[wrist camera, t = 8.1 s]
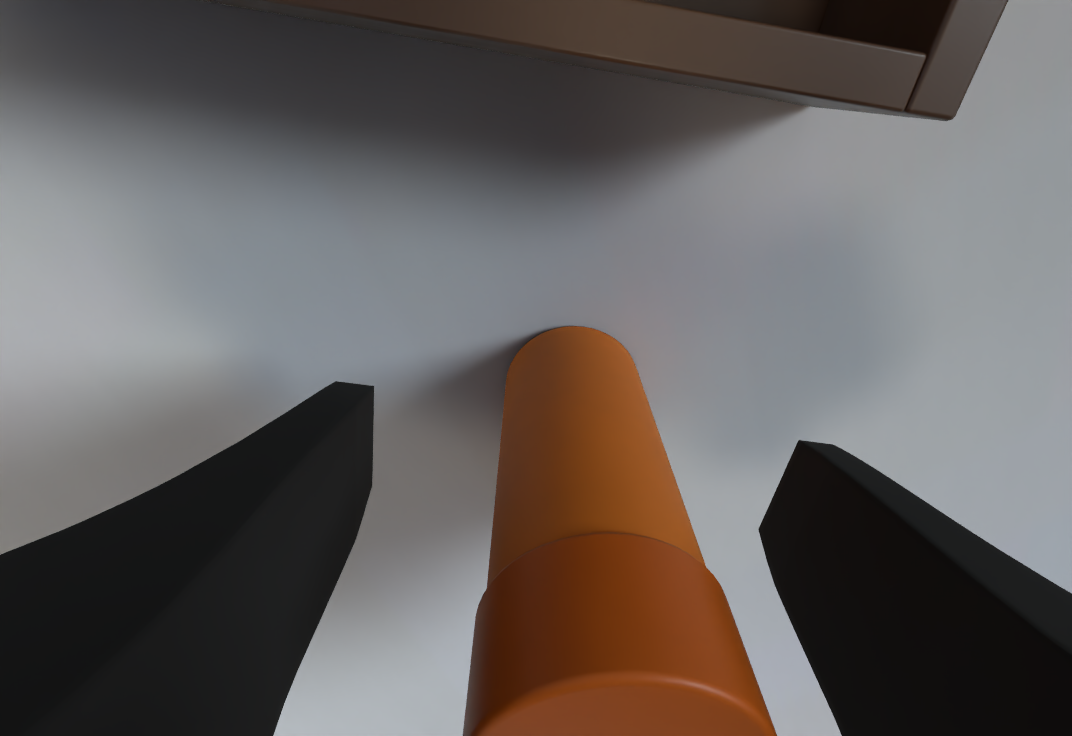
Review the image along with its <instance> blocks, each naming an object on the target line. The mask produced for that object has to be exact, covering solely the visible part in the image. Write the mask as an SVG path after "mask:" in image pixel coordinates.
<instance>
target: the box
mask: <svg viewBox="0 0 1072 736" xmlns="http://www.w3.org/2000/svg"><path fill="white" fill-rule="evenodd" d="M199 1H205V2H211V3H217V4H222V5H228V6H234V7H240V8H245V9H251V10H257V11H263V12H269V13H274V14H280V15H286V16H292V17H297V18H303V19H309V20H315V21H321V22H326V23H332V24H338V25H344V26H349V27H355V28H361V29H367V30H373V31H378V32H384V33H390V34H396V35H401V36H407V37H413V38H419V39H424V40H430V41H436V42H442V43H448V44H453V45H459V46H465V47H471V48H476V49H482V50H488V51H494V52H500V53H505V54H511V55H517V56H523V57H528V58H534V59H540V60H546V61H552V62H557V63H563V64H569V65H575V66H580V67H586V68H592V69H598V70H604V71H609V72H615V73H621V74H627V75H632V76H638V77H644V78H650V79H655V80H661V81H667V82H673V83H679V84H684V85H690V86H696V87H702V88H707V89H713V90H719V91H725V92H731V93H736V94H742V95H748V96H754V97H759V98H765V99H771V100H777V101H783V102H788V103H794V104H800V105H806V106H811V107H819V108H829V109H838V110H847V111H857V112H866V113H875V114H885V115H894V116H903V117H913V118H922V119H931V120H940V121H948V120H952V119H953V118H954V117H955V115H956V113H957V111H958V109H959V107H960V104H961V102H962V100H963V98H964V96H965V94H966V91H967V89H968V87H969V85H970V83H971V80H972V78H973V76H974V74H975V72H976V70H977V67H978V65H979V63H980V61H981V59H982V56H983V54H984V52H985V50H986V48H987V46H988V43H989V41H990V39H991V37H992V35H993V32H994V30H995V28H996V26H997V24H998V22H999V19H1000V17H1001V15H1002V13H1003V11H1004V8H1005V6H1006V4H1007V2H1008V0H199Z"/></svg>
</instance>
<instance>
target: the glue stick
mask: <svg viewBox="0 0 1072 736" xmlns="http://www.w3.org/2000/svg"><path fill="white" fill-rule="evenodd" d="M463 736H777V734H776V732H775V729H774V726H773V723H772V721H771V718H770V715H769V713H768V710H767V707H766V704H765V702H764V699H763V696H762V694H761V691H760V688H759V685H758V683H757V680H756V677H755V675H754V672H753V669H752V666H751V664H750V661H749V658H748V656H747V653H746V650H745V647H744V645H743V642H742V639H741V637H740V634H739V631H738V628H737V626H736V623H735V620H734V618H733V615H732V612H731V609H730V607H729V604H728V601H727V599H726V596H725V594H724V592H723V589H722V587H721V585H720V584H719V582H718V581H717V579H716V578H715V576H714V575H713V574H712V573H711V572H710V571H709V570H708V569H707V568H706V566H705V563H704V560H703V557H702V554H701V551H700V548H699V546H698V543H697V540H696V537H695V534H694V531H693V529H692V526H691V523H690V520H689V517H688V514H687V511H686V509H685V506H684V503H683V500H682V497H681V494H680V491H679V489H678V486H677V483H676V480H675V477H674V474H673V471H672V469H671V466H670V463H669V460H668V457H667V454H666V451H665V449H664V446H663V443H662V440H661V437H660V434H659V432H658V429H657V426H656V423H655V420H654V417H653V414H652V412H651V409H650V406H649V403H648V400H647V397H646V394H645V392H644V389H643V386H642V383H641V380H640V377H639V374H638V372H637V369H636V366H635V364H634V361H633V359H632V357H631V356H630V354H629V352H628V351H627V350H626V349H625V348H624V346H623V345H622V344H620V343H619V342H618V341H617V340H616V339H614V338H613V337H611V336H610V335H608V334H606V333H604V332H601V331H598V330H595V329H592V328H587V327H578V326H569V327H561V328H556V329H552V330H549V331H547V332H544V333H542V334H540V335H538V336H536V337H535V338H533V339H532V340H530V341H529V342H528V343H526V344H525V345H524V346H523V347H522V348H521V349H520V350H519V352H518V353H517V354H516V356H515V357H514V359H513V361H512V362H511V364H510V367H509V370H508V373H507V378H506V387H505V398H504V409H503V420H502V430H501V441H500V452H499V463H498V474H497V485H496V495H495V506H494V517H493V528H492V539H491V550H490V560H489V571H488V582H487V589H486V591H485V593H484V594H483V596H482V599H481V601H480V603H479V605H478V609H477V613H476V619H475V628H474V637H473V646H472V656H471V665H470V674H469V683H468V693H467V702H466V711H465V720H464V729H463Z"/></svg>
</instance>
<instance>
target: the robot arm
mask: <svg viewBox="0 0 1072 736" xmlns="http://www.w3.org/2000/svg"><path fill="white" fill-rule="evenodd" d="M373 415H374V386H368V385H361V384H353V383H345V382H337V381H336V382H334V383H332V384H331V385H329V386H327V387H325V388H324V389H322V390H321V391H319V392H317V393H316V394H314V395H313V396H311V397H310V398H308V399H306V400H305V401H303V402H302V403H300V404H299V405H297V406H296V407H294V408H292V409H291V410H289V411H288V412H286V413H285V414H283V415H281V416H280V417H278V418H277V419H275V420H273V421H272V422H270V423H269V424H267V425H265V426H264V427H262V428H260V429H259V430H257V431H256V432H254V433H252V434H251V435H249V436H248V437H246V438H244V439H243V440H241V441H239V442H238V443H236V444H234V445H232V446H230V447H229V448H227V449H225V450H223V451H221V452H220V453H218V454H216V455H214V456H212V457H211V458H209V459H207V460H205V461H203V462H202V463H200V464H198V465H196V466H194V467H193V468H191V469H189V470H187V471H185V472H184V473H182V474H180V475H178V476H177V477H175V478H173V479H171V480H169V481H167V482H165V483H163V484H161V485H159V486H157V487H155V488H153V489H151V490H149V491H147V492H145V493H143V494H141V495H139V496H137V497H135V498H133V499H131V500H128V501H126V502H124V503H122V504H120V505H117V506H115V507H113V508H111V509H109V510H107V511H104V512H102V513H100V514H98V515H96V516H93V517H91V518H89V519H87V520H85V521H82V522H80V523H78V524H76V525H73V526H71V527H69V528H66V529H64V530H61V531H59V532H56V533H54V534H51V535H49V536H46V537H44V538H41V539H39V540H36V541H34V542H31V543H29V544H26V545H24V546H21V547H19V548H16V549H13V550H11V551H8V552H6V553H3V554H1V555H0V736H273V735H274V732H275V729H276V726H277V723H278V720H279V717H280V714H281V711H282V708H283V706H284V703H285V700H286V698H287V695H288V693H289V690H290V688H291V685H292V683H293V680H294V678H295V675H296V673H297V670H298V668H299V666H300V664H301V661H302V659H303V657H304V655H305V653H306V650H307V648H308V646H309V644H310V641H311V639H312V637H313V635H314V632H315V630H316V628H317V626H318V624H319V621H320V619H321V617H322V615H323V612H324V610H325V608H326V606H327V603H328V601H329V599H330V597H331V595H332V592H333V590H334V588H335V586H336V583H337V581H338V579H339V577H340V574H341V572H342V570H343V568H344V565H345V563H346V561H347V558H348V556H349V554H350V552H351V549H352V547H353V545H354V542H355V540H356V537H357V534H358V531H359V528H360V524H361V521H362V518H363V515H364V512H365V508H366V505H367V501H368V498H369V495H370V491H371V488H372V471H373ZM759 533H760V537H761V540H762V544H763V548H764V551H765V555H766V559H767V562H768V565H769V568H770V572H771V575H772V578H773V581H774V584H775V587H776V589H777V591H778V594H779V596H780V598H781V601H782V603H783V605H784V607H785V610H786V612H787V614H788V616H789V619H790V621H791V623H792V625H793V628H794V630H795V632H796V634H797V637H798V639H799V641H800V643H801V645H802V648H803V650H804V652H805V654H806V656H807V658H808V661H809V663H810V665H811V667H812V669H813V672H814V674H815V676H816V678H817V680H818V683H819V685H820V687H821V689H822V691H823V694H824V696H825V698H826V700H827V702H828V705H829V707H830V709H831V711H832V713H833V716H834V718H835V720H836V723H837V725H838V727H839V730H840V732H841V735H842V736H1072V593H1070V592H1068V591H1066V590H1065V589H1063V588H1061V587H1059V586H1058V585H1056V584H1054V583H1053V582H1051V581H1049V580H1048V579H1046V578H1045V577H1043V576H1041V575H1040V574H1038V573H1036V572H1035V571H1033V570H1031V569H1030V568H1028V567H1027V566H1025V565H1023V564H1022V563H1020V562H1018V561H1017V560H1015V559H1013V558H1012V557H1010V556H1009V555H1007V554H1005V553H1004V552H1002V551H1000V550H999V549H997V548H996V547H994V546H993V545H991V544H989V543H988V542H986V541H985V540H983V539H982V538H980V537H978V536H977V535H975V534H974V533H972V532H971V531H969V530H968V529H966V528H965V527H963V526H961V525H960V524H958V523H957V522H955V521H954V520H952V519H951V518H949V517H948V516H946V515H945V514H943V513H942V512H940V511H939V510H937V509H936V508H934V507H933V506H931V505H930V504H928V503H926V502H925V501H923V500H922V499H920V498H919V497H917V496H916V495H914V494H913V493H911V492H910V491H908V490H907V489H905V488H904V487H902V486H901V485H899V484H898V483H896V482H895V481H893V480H892V479H890V478H889V477H887V476H885V475H884V474H882V473H881V472H879V471H878V470H876V469H874V468H873V467H871V466H870V465H868V464H866V463H865V462H863V461H862V460H860V459H858V458H857V457H855V456H853V455H851V454H850V453H848V452H846V451H844V450H842V449H840V448H838V447H837V446H835V445H832V444H824V443H817V442H809V441H801V440H799V441H798V443H797V445H796V447H795V449H794V452H793V454H792V456H791V458H790V461H789V463H788V465H787V467H786V469H785V472H784V474H783V476H782V478H781V481H780V483H779V485H778V487H777V489H776V492H775V494H774V496H773V498H772V501H771V503H770V505H769V507H768V509H767V512H766V514H765V516H764V518H763V521H762V523H761V525H760V527H759Z"/></svg>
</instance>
